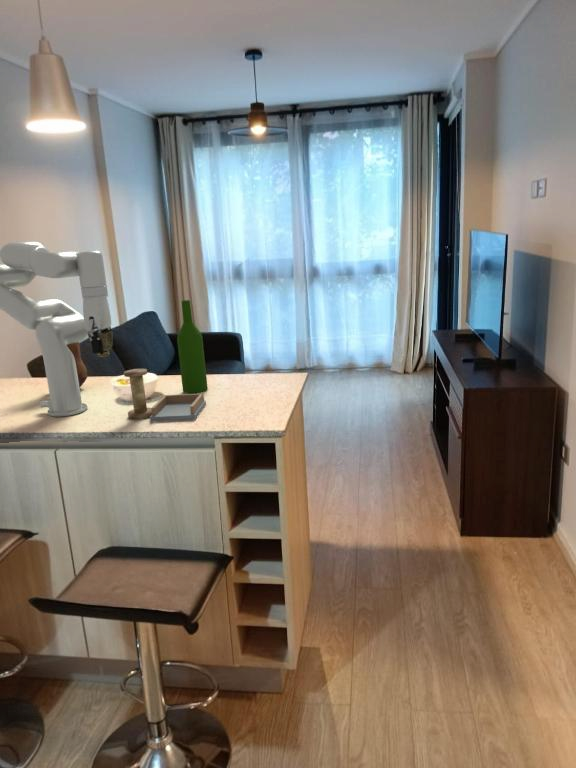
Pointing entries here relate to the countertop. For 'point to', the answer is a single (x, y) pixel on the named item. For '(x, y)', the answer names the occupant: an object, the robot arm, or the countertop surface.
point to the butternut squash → (78, 362)
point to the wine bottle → (191, 354)
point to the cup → (105, 341)
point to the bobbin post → (138, 394)
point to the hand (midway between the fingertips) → (103, 350)
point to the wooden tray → (178, 407)
